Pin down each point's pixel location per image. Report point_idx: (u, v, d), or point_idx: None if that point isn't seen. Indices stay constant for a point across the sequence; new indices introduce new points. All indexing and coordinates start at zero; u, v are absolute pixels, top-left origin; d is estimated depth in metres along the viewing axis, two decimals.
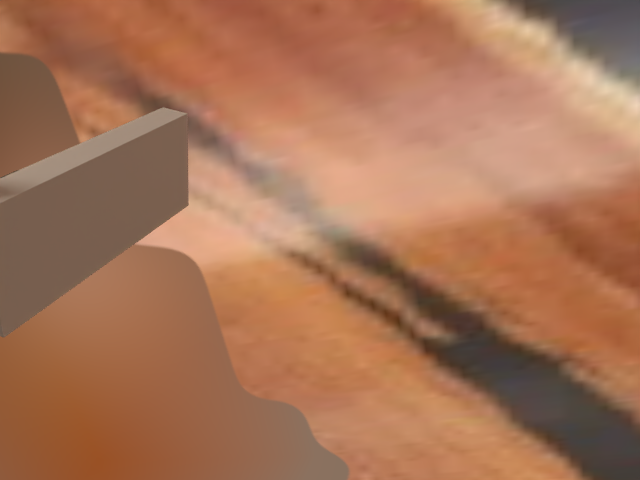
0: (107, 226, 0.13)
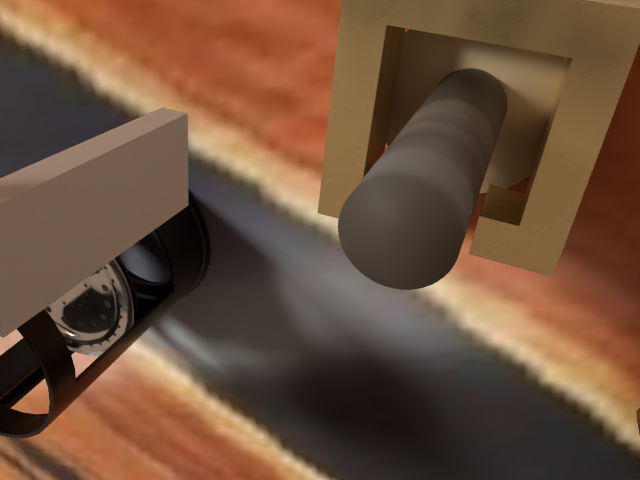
0: (107, 226, 0.13)
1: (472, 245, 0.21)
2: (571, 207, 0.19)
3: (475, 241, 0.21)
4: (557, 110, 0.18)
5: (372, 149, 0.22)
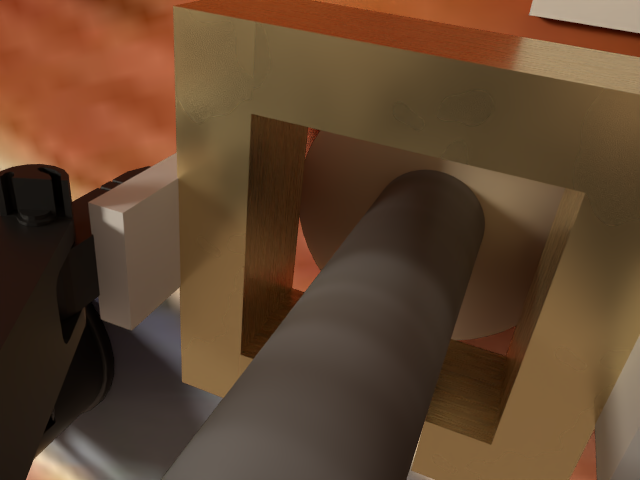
0: None
1: (416, 459, 0.13)
2: (580, 430, 0.11)
3: (420, 454, 0.13)
4: (555, 277, 0.10)
5: (258, 294, 0.14)
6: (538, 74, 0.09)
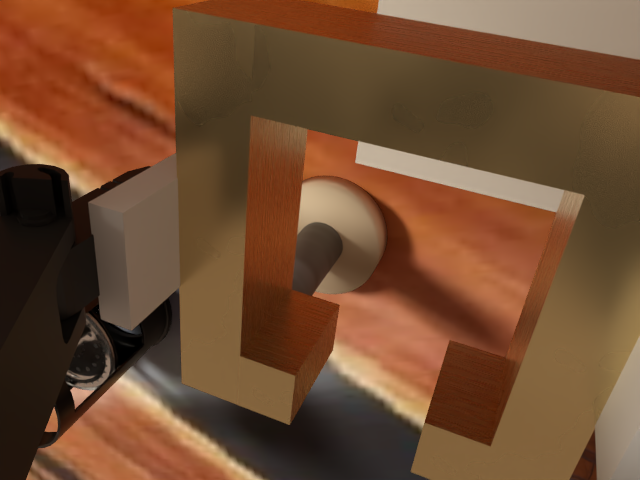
0: None
1: (415, 461, 0.13)
2: (579, 432, 0.11)
3: (420, 456, 0.13)
4: (554, 279, 0.10)
5: (258, 296, 0.14)
6: (537, 76, 0.09)
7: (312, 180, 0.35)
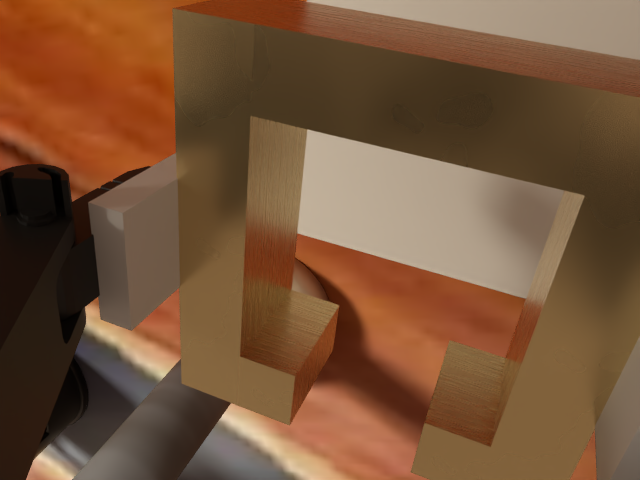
0: None
1: (415, 461, 0.13)
2: (579, 432, 0.11)
3: (420, 456, 0.13)
4: (554, 279, 0.10)
5: (258, 296, 0.14)
6: (537, 77, 0.09)
7: None
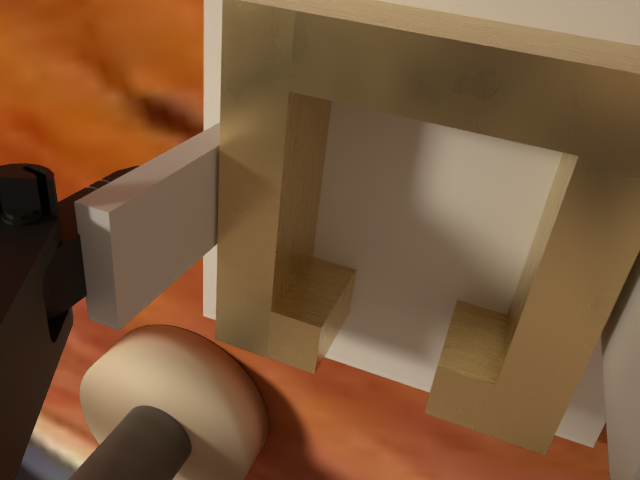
0: (201, 225, 0.14)
1: (428, 402, 0.15)
2: (573, 368, 0.13)
3: (432, 398, 0.14)
4: (552, 231, 0.12)
5: (287, 257, 0.15)
6: (539, 54, 0.10)
7: (143, 335, 0.22)
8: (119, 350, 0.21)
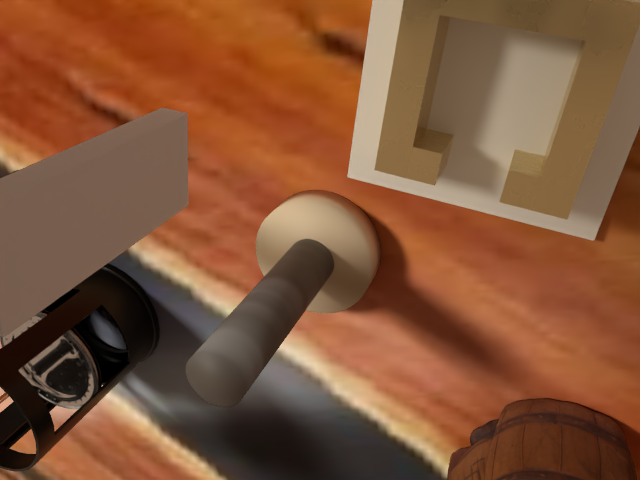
0: (107, 226, 0.13)
1: (502, 194, 0.26)
2: (583, 161, 0.24)
3: (505, 191, 0.26)
4: (573, 82, 0.23)
5: (421, 117, 0.27)
6: None
7: (302, 195, 0.34)
8: (290, 202, 0.33)
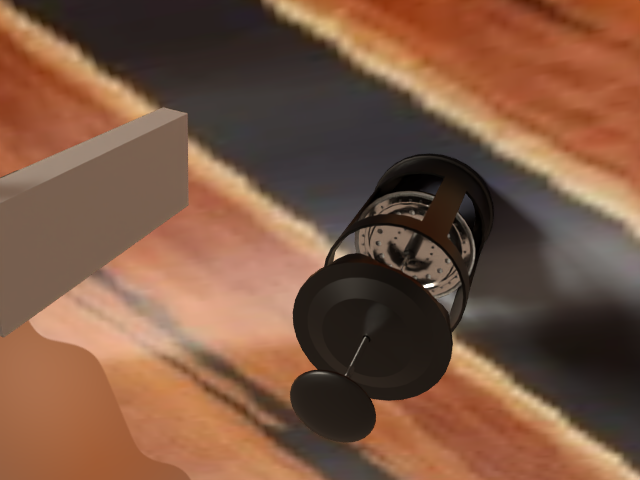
0: (107, 226, 0.13)
1: None
2: None
3: None
4: None
5: None
6: None
7: None
8: None
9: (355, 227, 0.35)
